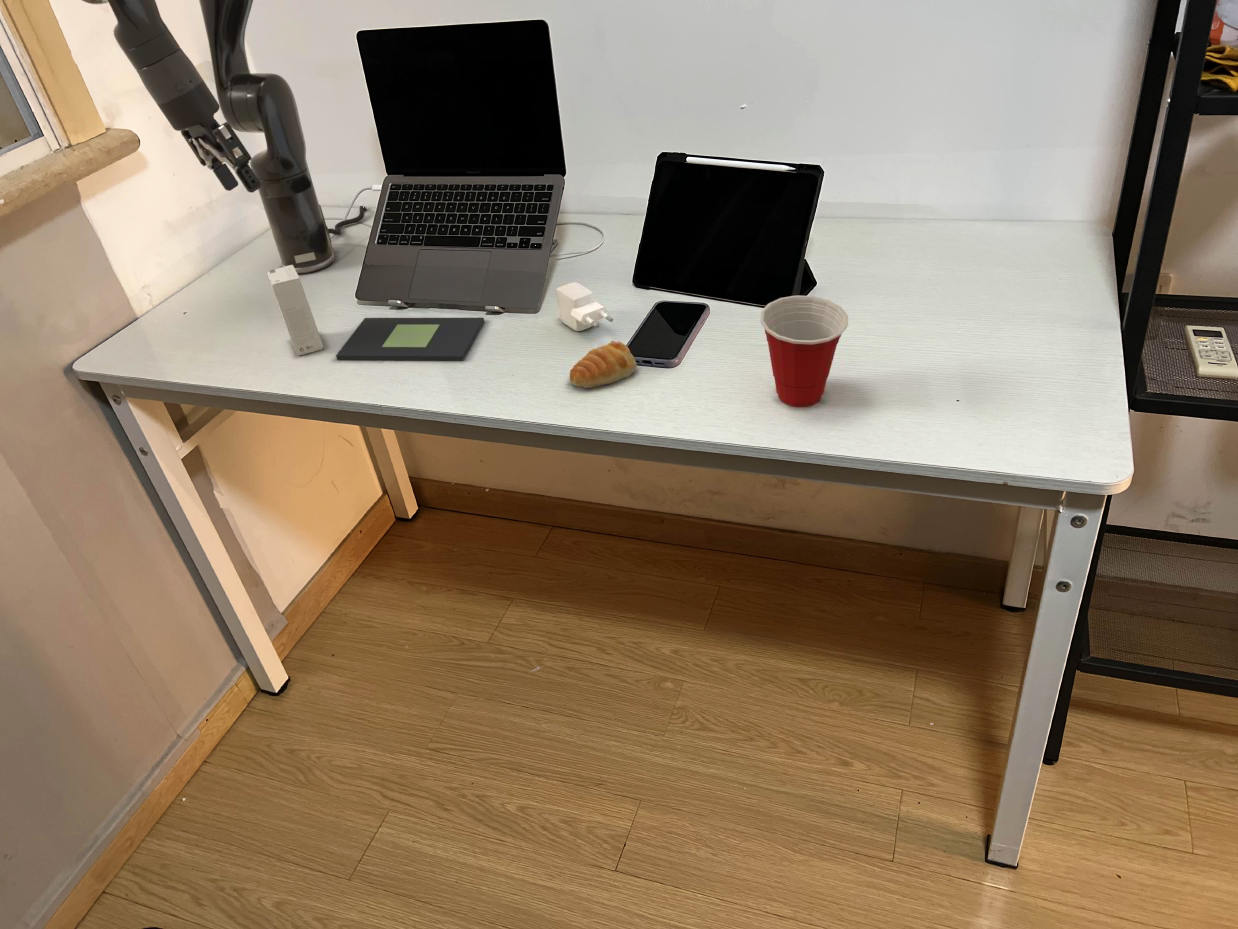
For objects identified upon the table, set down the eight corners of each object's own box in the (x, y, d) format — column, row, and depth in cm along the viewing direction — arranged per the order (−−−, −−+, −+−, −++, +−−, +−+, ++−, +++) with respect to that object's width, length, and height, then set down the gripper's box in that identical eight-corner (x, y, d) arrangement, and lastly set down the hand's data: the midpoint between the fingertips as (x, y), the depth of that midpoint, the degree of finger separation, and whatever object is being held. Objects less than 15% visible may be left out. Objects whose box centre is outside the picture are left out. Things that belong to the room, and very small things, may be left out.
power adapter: (620, 337, 137) (617, 302, 134) (593, 348, 136) (589, 313, 132) (581, 311, 145) (577, 277, 142) (555, 321, 143) (550, 287, 140)
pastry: (588, 398, 125) (585, 373, 123) (559, 380, 129) (556, 356, 127) (641, 371, 129) (639, 347, 127) (611, 355, 134) (609, 332, 131)
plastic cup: (787, 428, 115) (790, 345, 108) (743, 388, 123) (743, 308, 116) (859, 404, 118) (867, 321, 111) (812, 366, 126) (817, 287, 119)
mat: (366, 321, 149) (364, 316, 148) (484, 321, 145) (483, 316, 145) (337, 360, 139) (335, 354, 139) (463, 360, 136) (461, 355, 135)
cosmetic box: (325, 349, 142) (302, 277, 135) (296, 357, 141) (271, 285, 134) (317, 333, 147) (295, 262, 140) (289, 340, 146) (265, 270, 138)
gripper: (218, 74, 131) (283, 177, 141) (181, 78, 140) (244, 175, 150) (174, 100, 128) (244, 204, 137) (139, 103, 137) (206, 199, 147)
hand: (244, 188), depth 144 cm, fingers open, 8 cm apart
